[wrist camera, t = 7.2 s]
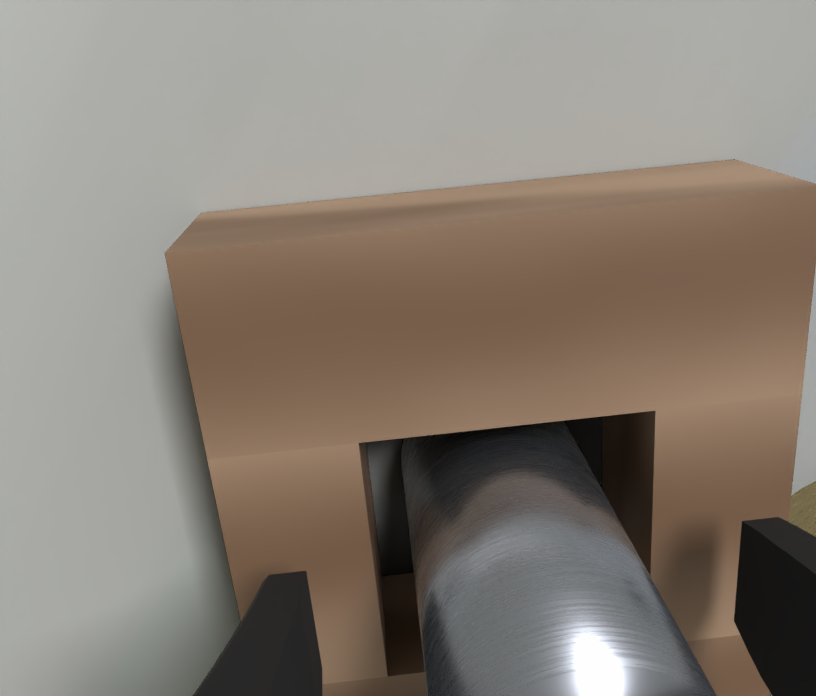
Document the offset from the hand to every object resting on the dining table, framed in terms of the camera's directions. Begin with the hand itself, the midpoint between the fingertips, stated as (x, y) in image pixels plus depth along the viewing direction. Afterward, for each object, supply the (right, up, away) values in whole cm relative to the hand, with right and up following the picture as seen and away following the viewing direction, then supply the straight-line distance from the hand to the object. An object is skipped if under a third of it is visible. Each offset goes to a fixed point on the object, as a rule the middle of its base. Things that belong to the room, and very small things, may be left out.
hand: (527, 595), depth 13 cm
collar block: (0, +2, +4) cm, 4 cm away
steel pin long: (0, +2, +4) cm, 4 cm away
